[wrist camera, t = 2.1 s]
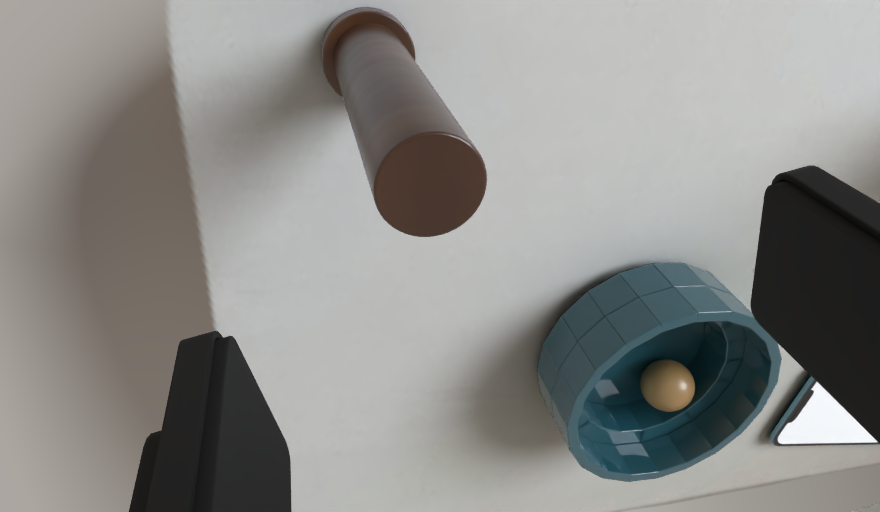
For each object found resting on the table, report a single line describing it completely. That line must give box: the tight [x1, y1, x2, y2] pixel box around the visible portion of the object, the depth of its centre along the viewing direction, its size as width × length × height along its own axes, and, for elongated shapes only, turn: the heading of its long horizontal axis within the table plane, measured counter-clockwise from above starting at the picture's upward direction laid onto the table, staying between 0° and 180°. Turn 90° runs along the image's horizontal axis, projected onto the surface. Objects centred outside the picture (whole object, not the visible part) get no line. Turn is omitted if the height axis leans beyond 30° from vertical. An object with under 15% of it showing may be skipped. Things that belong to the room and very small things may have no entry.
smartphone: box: [770, 376, 879, 446], centre depth 46 cm, size 8×1×16 cm
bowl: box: [537, 263, 782, 482], centre depth 35 cm, size 12×12×5 cm
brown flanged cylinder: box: [321, 7, 487, 237], centre depth 20 cm, size 4×4×12 cm
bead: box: [640, 359, 695, 412], centre depth 37 cm, size 3×3×3 cm
